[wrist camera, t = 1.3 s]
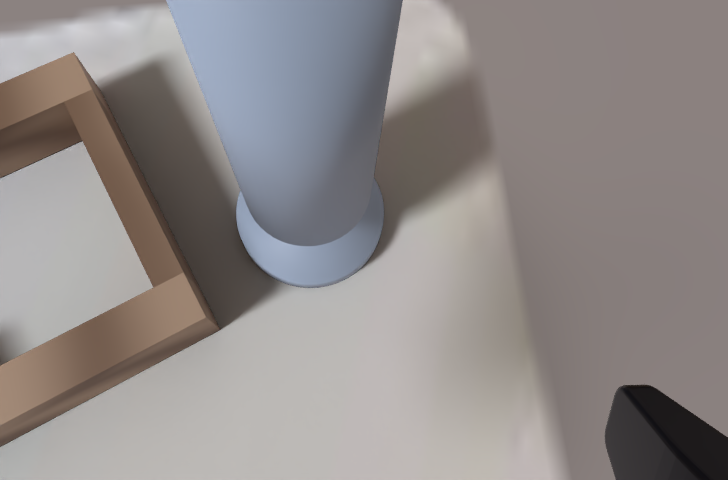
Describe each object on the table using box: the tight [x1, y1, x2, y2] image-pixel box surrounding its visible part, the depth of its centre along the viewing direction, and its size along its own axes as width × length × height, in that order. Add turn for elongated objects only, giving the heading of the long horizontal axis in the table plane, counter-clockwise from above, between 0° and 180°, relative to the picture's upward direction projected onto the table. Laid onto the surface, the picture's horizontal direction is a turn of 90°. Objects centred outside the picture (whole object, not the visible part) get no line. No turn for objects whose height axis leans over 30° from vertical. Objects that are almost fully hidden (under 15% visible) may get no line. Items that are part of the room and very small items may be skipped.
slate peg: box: [166, 0, 403, 288], centre depth 15 cm, size 5×5×16 cm
